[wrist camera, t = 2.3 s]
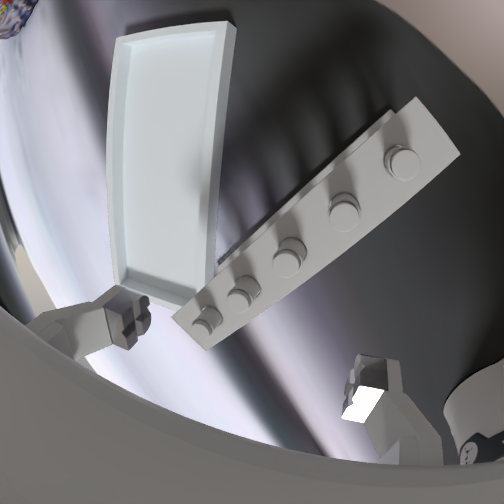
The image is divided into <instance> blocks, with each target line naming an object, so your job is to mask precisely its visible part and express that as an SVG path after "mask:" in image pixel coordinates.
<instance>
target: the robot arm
mask: <svg viewBox="0 0 504 504" xmlns="http://www.w3.org/2000/svg"><path fill="white" fill-rule="evenodd" d="M149 305H150V303H149V297H148V296H146V295H144V294H142V293H139V292H136V291H134V290H131V289H129V288H126V287H123V286H121V285H115V286H113V287H112V288H111V289H109V290H108V291H107V292H105V293H104V294H103V295H101V296H100V297H99V298H97V299H96V300H95V301H94V302H86V303H81V304H77V305H73V306H68V307H64V308H60V309H55V310H51V311H47V312H43V313H42V314H40V315H39V316H38V317H36V318H35V319H34V320H32V321H31V322H30V323H28V324H27V325H26V326H24V325H23V324H22V323H20V322H19V321H18V320H16V319H15V318H14V317H13V316H11V315H10V314H9V313H8V312H7V311H5V310H4V309H3V308H2V307H1V306H0V504H504V358H503V359H502V360H501V361H499V362H498V363H496V364H493V365H491V366H489V367H486V368H484V369H482V370H480V371H479V372H477V373H475V374H473V375H472V376H470V377H469V378H468V379H466V380H465V381H464V382H463V383H461V384H460V385H459V386H458V387H457V388H456V389H455V390H454V391H453V392H452V394H451V395H450V396H449V398H448V399H447V401H446V403H445V406H444V416H445V418H446V420H447V422H448V424H449V426H450V429H451V433H452V435H453V437H454V440H455V444H456V447H457V451H458V454H459V465H444V466H443V453H442V443H441V437H440V436H439V434H438V433H437V432H436V431H435V429H434V428H433V427H432V426H431V424H430V423H429V422H428V420H427V419H426V418H425V417H424V415H423V414H422V413H421V412H420V410H419V409H418V408H417V407H416V405H415V404H414V403H413V402H412V400H411V399H410V398H409V397H408V395H407V394H403V389H402V379H401V371H400V363H399V361H398V360H393V359H387V358H385V359H384V358H379V357H374V356H368V355H363V354H359V355H358V356H357V358H356V360H355V368H354V369H352V370H351V371H350V373H349V376H348V378H347V381H346V385H345V392H344V395H345V396H346V399H345V401H344V403H343V410H342V418H344V419H349V420H354V421H359V422H364V423H363V424H364V426H365V428H366V430H367V432H368V434H369V436H370V438H371V440H372V442H373V444H374V446H375V448H376V450H377V452H378V454H379V456H380V458H381V459H380V460H379V461H378V462H377V463H366V462H358V461H350V460H342V459H336V458H330V457H324V456H318V455H313V454H308V453H303V452H298V451H294V450H289V449H285V448H281V447H277V446H273V445H269V444H265V443H261V442H258V441H254V440H251V439H247V438H244V437H241V436H238V435H234V434H231V433H228V432H225V431H222V430H219V429H216V428H214V427H211V426H208V425H205V424H202V423H200V422H197V421H195V420H192V419H189V418H187V417H184V416H182V415H179V414H177V413H175V412H172V411H170V410H168V409H165V408H163V407H161V406H159V405H156V404H154V403H152V402H150V401H148V400H146V399H143V398H141V397H139V396H137V395H135V394H133V393H131V392H129V391H127V390H125V389H123V388H122V387H120V386H118V385H116V384H114V383H112V382H110V381H109V380H107V379H105V378H103V377H101V376H100V375H98V374H96V373H94V372H93V371H91V370H89V369H88V368H86V367H84V366H83V365H81V364H79V363H78V362H76V359H79V358H81V357H84V356H86V355H89V354H91V353H93V352H96V351H98V350H100V349H103V348H105V347H108V346H110V345H112V344H114V345H117V346H119V347H121V348H123V349H126V350H128V351H129V350H130V349H131V348H132V347H133V346H134V344H135V343H136V342H137V341H138V336H141V335H144V334H145V333H146V331H147V330H148V328H149V326H150V324H151V313H150V312H149V310H148V308H147V307H148V306H149Z"/></svg>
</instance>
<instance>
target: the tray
mask: <svg viewBox="0 0 504 504" xmlns="http://www.w3.org/2000/svg"><path fill="white" fill-rule="evenodd" d="M236 31H237V28H236V27H234V26H233V25H232V24H231V23H229V22H228V21H219V22H206V23H196V24H187V25H179V26H172V27H166V28H160V29H154V30H149V31H144V32H139V33H135V34H130V35H126V36H122V37H118V38H116V44H115V51H114V58H113V65H112V73H111V82H110V92H109V105H108V120H107V149H106V179H107V207H108V224H109V237H110V248H111V257H112V266H113V274H114V282H115V285H121V286H123V287H126V288H129V289H131V290H134V291H136V292H139V293H142V294H144V295H146V296H148V297H149V302H152V303H155V304H158V305H161V306H163V307H166V308H169V309H172V310H175V311H178V310H179V309H180V308H182V307H183V306H184V305H185V304H186V303H187V302H188V301H189V300H190V299H191V298H192V297H194V296H195V295H196V294H197V293H198V292H199V291H200V290H201V289H202V288H203V287H204V286H206V285H207V284H208V283H209V282H210V281H211V280H212V279H213V278H214V261H215V244H216V229H217V215H218V201H219V188H220V176H221V165H222V154H223V143H224V133H225V123H226V113H227V104H228V95H229V86H230V77H231V69H232V61H233V53H234V45H235V38H236ZM204 309H205V307H204V308H203V310H204ZM203 310H202V311H203Z"/></svg>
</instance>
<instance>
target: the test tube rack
mask: <svg viewBox="0 0 504 504" xmlns="http://www.w3.org/2000/svg"><path fill="white" fill-rule="evenodd" d="M459 155H460V153H459V151H458V150H457V148H456V147H455V145H454V144H453V142H452V141H451V140H450V138H449V137H448V136H447V134H446V133H445V132H444V130H443V129H442V128H441V126H440V125H439V124H438V122H437V121H436V120H435V119H434V117H433V116H432V115H431V114H430V112H429V111H428V110H427V109H426V107H425V106H424V105H423V104H422V103H421V102H420V100H419V99H418V98H417V97H414V98H413V99H412V100H411V101H410V102H409V103H408V104H406V105H405V106H404V107H403V108H402V109H401V110H400V111H398V112H397V113H396V114H395V113H394V112H393V111H392V110H391V109H390V110H388V111H387V112H386V113H385V114H384V115H383V116H382V117H381V118H379V119H378V120H377V121H376V122H375V123H374V124H373V125H372V126H371V127H369V128H368V129H367V130H366V131H365V132H364V133H363V134H362V135H360V136H359V137H358V138H357V139H356V140H355V141H354V142H353V143H352V144H350V145H349V146H348V147H347V148H346V149H345V150H344V151H343V152H342V153H341V154H339V155H338V156H337V157H336V158H335V159H334V160H333V161H332V162H331V163H329V164H328V165H327V166H326V167H325V168H324V169H323V170H322V171H321V172H320V173H318V174H317V175H316V176H315V177H314V178H313V179H312V180H311V181H310V182H309V183H307V184H306V185H305V186H304V187H303V188H302V189H301V190H300V191H299V192H298V193H297V194H295V195H294V196H293V197H292V198H291V199H290V200H289V201H288V202H287V203H286V204H285V205H283V206H282V207H281V208H280V209H279V210H278V211H277V212H276V213H275V214H274V215H273V216H272V217H270V218H269V219H268V220H267V221H266V222H265V223H264V224H263V225H262V226H261V227H260V228H259V229H257V230H256V231H255V232H254V233H253V234H252V235H251V236H250V237H249V238H248V239H247V240H246V241H245V242H243V243H242V244H241V245H240V246H239V247H238V248H237V249H236V250H235V251H234V252H233V253H232V254H231V255H229V256H228V257H227V258H226V259H225V260H224V261H223V262H222V263H221V264H220V265H219V266H218V267H217V269H218V270H219V271H220V273H219V274H218V275H216V276H215V277H214V278H213V279H212V280H211V281H210V282H209V283H208V284H207V285H206V286H204V287H203V288H202V289H201V290H200V291H199V292H198V293H197V294H196V295H195V296H194V297H192V298H191V299H190V300H189V301H188V302H187V303H186V304H185V305H184V306H183V307H182V308H180V309H179V310H178V311H177V312H176V313H175V314H174V315H173V316H172V317H171V318H172V319H173V320H174V321H175V322H176V323H177V324H178V325H179V326H180V327H181V328H182V329H183V330H184V331H185V332H186V333H187V334H188V335H189V336H190V337H192V338H193V339H194V340H195V341H196V342H197V343H198V344H199V345H200V346H201V347H202V348H203V349H204V350H205V351H206V350H208V349H209V348H211V347H212V346H214V345H215V344H217V343H218V342H220V341H221V340H223V339H224V338H226V337H227V336H229V335H230V334H232V333H233V332H235V331H236V330H238V329H239V328H241V327H242V326H243V325H245V324H246V323H248V322H249V321H251V320H252V319H254V318H255V317H256V316H258V315H259V314H261V313H262V312H264V311H265V310H266V309H268V308H269V307H271V306H272V305H273V304H275V303H276V302H278V301H279V300H280V299H282V298H283V297H285V296H286V295H287V294H289V293H290V292H291V291H293V290H294V289H296V288H297V287H298V286H300V285H301V284H302V283H304V282H305V281H306V280H308V279H309V278H310V277H312V276H313V275H315V274H316V273H317V272H319V271H320V270H321V269H322V268H324V267H325V266H326V265H328V264H329V263H330V262H332V261H333V260H334V259H336V258H337V257H338V256H340V255H341V254H342V253H343V252H345V251H346V250H347V249H349V248H350V247H351V246H352V245H354V244H355V243H356V242H357V241H359V240H360V239H361V238H363V237H364V236H365V235H366V234H368V233H369V232H370V231H371V230H373V229H374V228H375V227H376V226H377V225H379V224H380V223H381V222H382V221H384V220H385V219H386V218H387V217H389V216H390V215H391V214H392V213H393V212H395V211H396V210H397V209H398V208H399V207H401V206H402V205H403V204H404V203H405V202H407V201H408V200H409V199H410V198H411V197H412V196H414V195H415V194H416V193H417V192H418V191H419V190H421V189H422V188H423V187H424V186H425V185H426V184H428V183H429V182H430V181H431V180H432V179H433V178H434V177H436V176H437V175H438V174H439V173H440V172H441V171H442V170H443V169H445V168H446V167H447V166H448V165H449V164H450V163H451V162H452V161H453V160H455V159H456V158H457V157H458V156H459ZM358 202H359V206H360V209H359V206H358ZM306 251H307V254H306ZM305 254H306V257H305ZM304 257H305V258H304ZM260 289H261V290H260ZM259 291H260V293H259V294H258V292H259ZM257 294H258V295H257ZM204 307H205V309H204V310H203V308H204ZM202 310H203V311H202ZM222 319H223V321H222V322H221V320H222ZM220 322H221V323H220Z"/></svg>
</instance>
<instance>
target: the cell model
mask: <svg viewBox="0 0 504 504" xmlns="http://www.w3.org/2000/svg"><path fill="white" fill-rule="evenodd" d="M37 1H38V0H0V39H8V38H10V37H13V36H16V35H17V34H18V33H19V32H20V31H21V28H22V26H23V25H24V24H25V22H26V21H27V19H28V18H29V16H30V15H31V13H32V10H33V7H34V6H35V4H36V2H37Z"/></svg>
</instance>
